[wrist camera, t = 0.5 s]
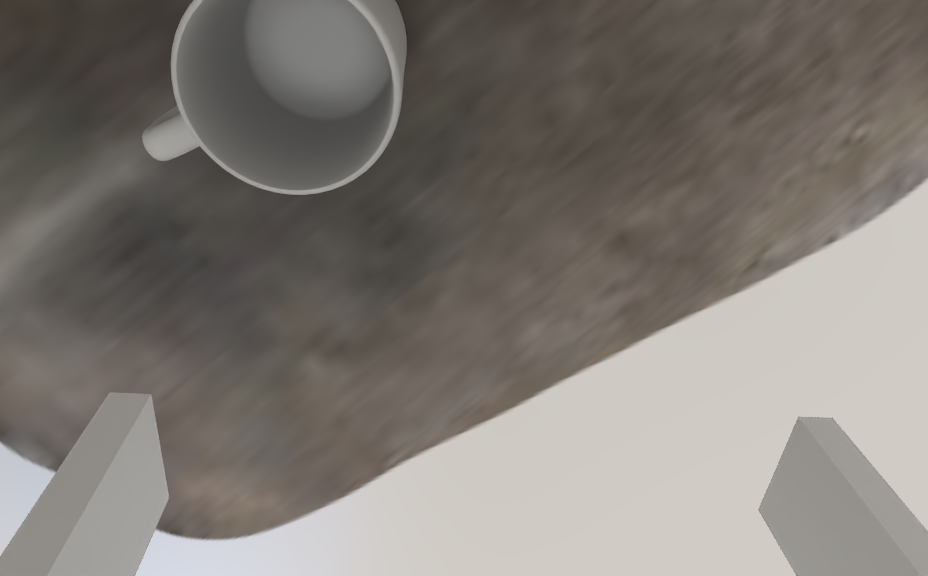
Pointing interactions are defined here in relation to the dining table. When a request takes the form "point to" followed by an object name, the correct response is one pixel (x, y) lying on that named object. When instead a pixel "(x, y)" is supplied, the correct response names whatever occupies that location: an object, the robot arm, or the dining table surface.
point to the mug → (285, 89)
